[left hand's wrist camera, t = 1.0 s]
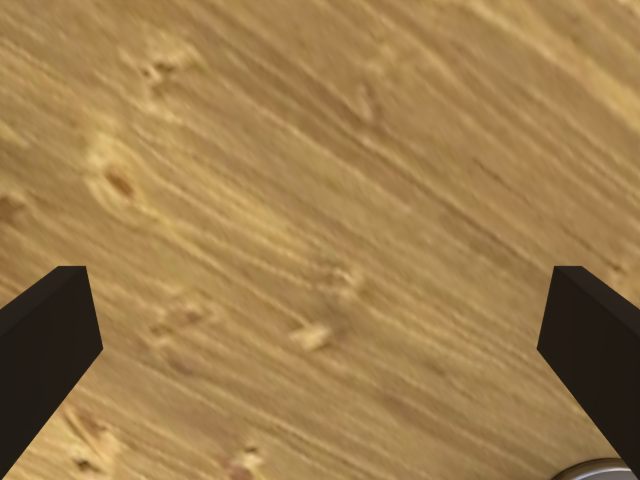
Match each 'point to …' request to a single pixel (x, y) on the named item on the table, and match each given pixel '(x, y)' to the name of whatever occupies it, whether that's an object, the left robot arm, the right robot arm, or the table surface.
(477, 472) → the table surface
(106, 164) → the table surface
